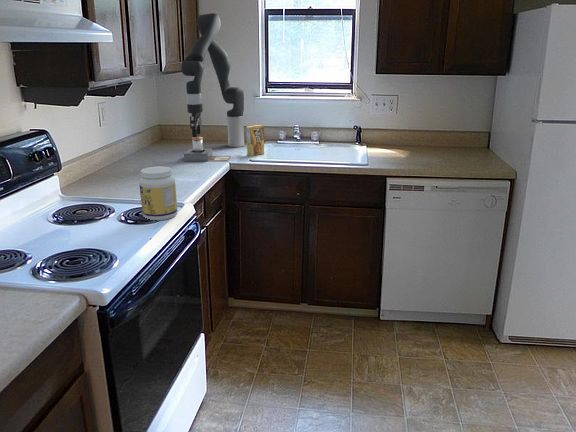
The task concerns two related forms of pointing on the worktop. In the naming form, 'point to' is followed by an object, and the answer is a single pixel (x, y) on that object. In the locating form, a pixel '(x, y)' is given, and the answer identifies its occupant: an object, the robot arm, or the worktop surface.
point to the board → (215, 159)
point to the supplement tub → (158, 193)
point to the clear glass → (197, 144)
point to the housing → (198, 155)
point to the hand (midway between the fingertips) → (196, 135)
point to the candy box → (255, 140)
